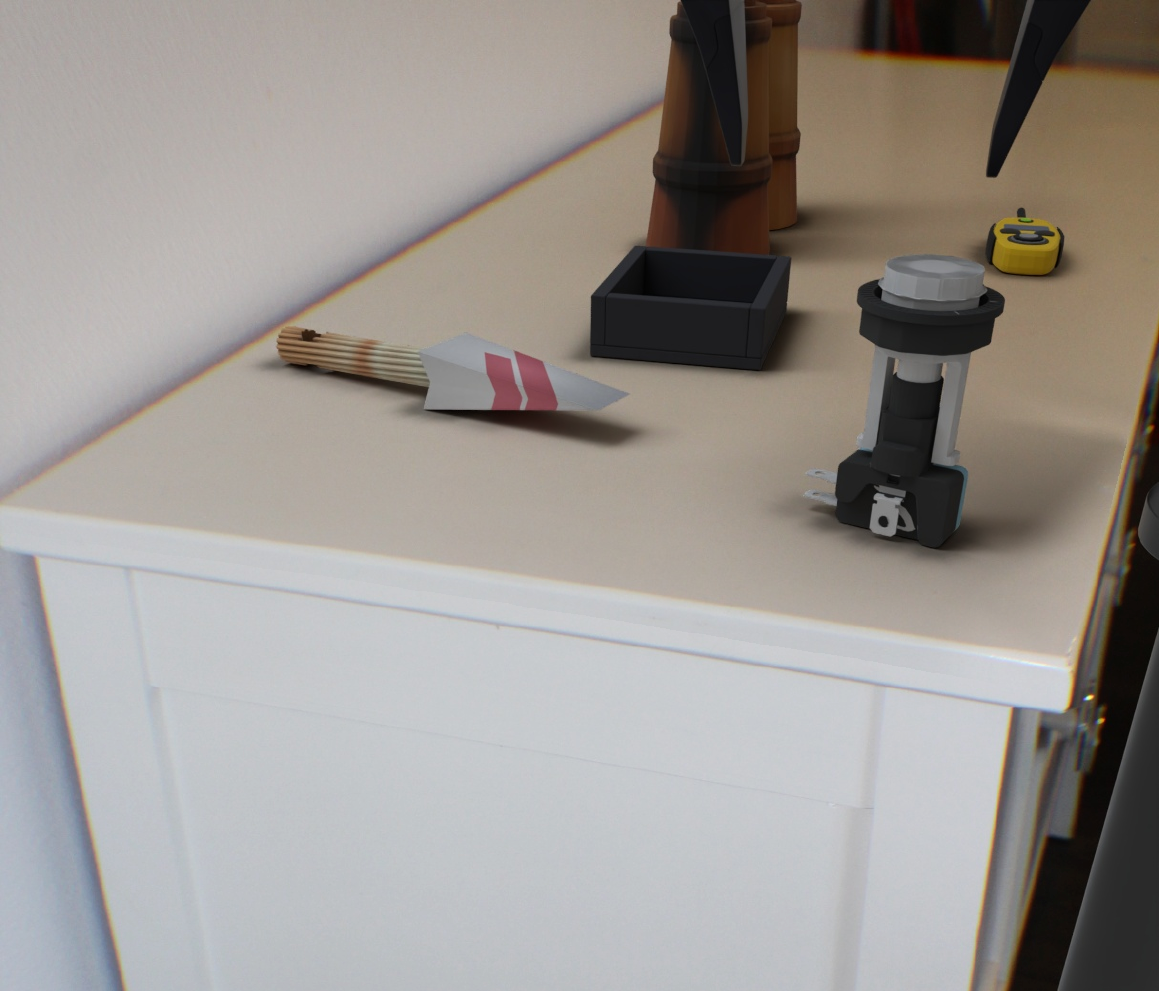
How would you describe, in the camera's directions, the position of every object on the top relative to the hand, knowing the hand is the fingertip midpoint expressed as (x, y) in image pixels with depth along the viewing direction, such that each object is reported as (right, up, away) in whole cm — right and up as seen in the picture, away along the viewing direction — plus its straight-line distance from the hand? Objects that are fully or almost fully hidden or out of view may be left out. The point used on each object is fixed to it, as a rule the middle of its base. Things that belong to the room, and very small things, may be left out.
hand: (862, 170), depth 52 cm
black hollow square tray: (-4, +4, +27) cm, 28 cm away
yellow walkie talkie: (+19, +16, +44) cm, 50 cm away
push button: (+2, -12, +6) cm, 13 cm away
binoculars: (0, +18, +46) cm, 50 cm away
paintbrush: (-17, -3, +18) cm, 25 cm away
